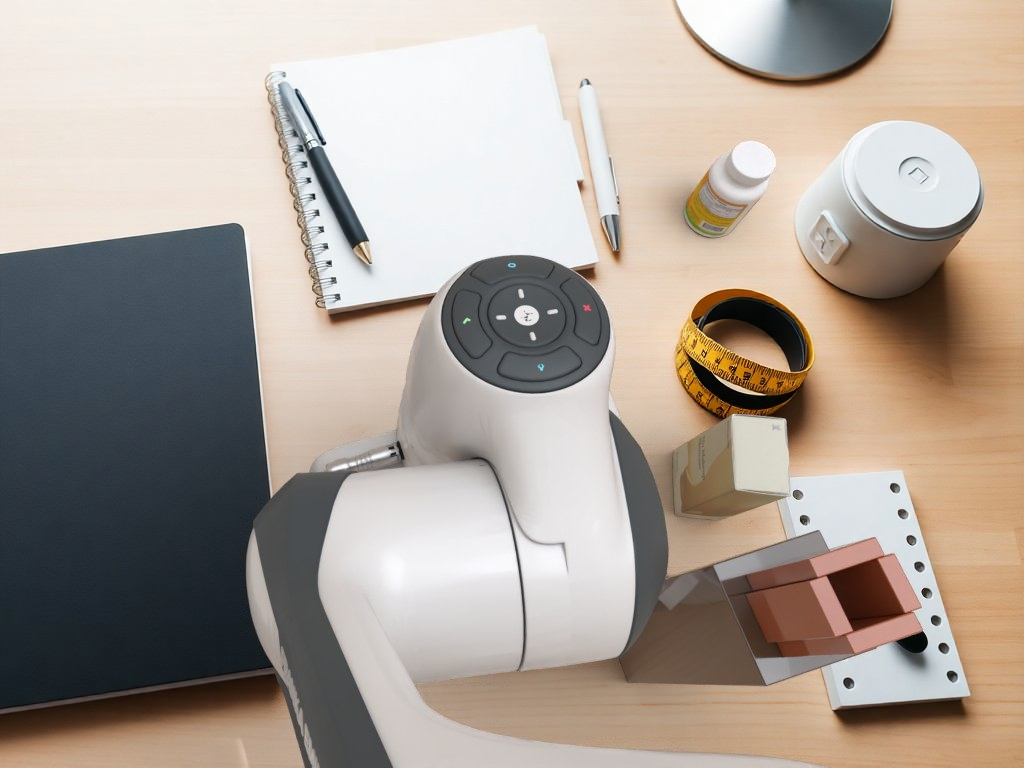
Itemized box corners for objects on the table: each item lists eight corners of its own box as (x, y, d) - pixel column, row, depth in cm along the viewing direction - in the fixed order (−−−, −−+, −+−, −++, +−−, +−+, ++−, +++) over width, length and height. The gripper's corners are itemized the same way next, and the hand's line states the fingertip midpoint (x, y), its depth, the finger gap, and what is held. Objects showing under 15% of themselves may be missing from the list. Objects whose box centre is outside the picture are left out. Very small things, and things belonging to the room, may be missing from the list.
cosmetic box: (671, 449, 75) (730, 408, 64) (719, 454, 75) (787, 413, 64) (673, 519, 73) (734, 490, 62) (723, 524, 73) (793, 496, 62)
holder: (705, 657, 69) (965, 643, 40) (628, 683, 69) (836, 688, 39) (670, 575, 72) (893, 506, 42) (595, 600, 71) (769, 546, 42)
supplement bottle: (718, 185, 85) (763, 125, 75) (746, 227, 83) (796, 172, 74) (672, 203, 84) (712, 145, 75) (700, 246, 82) (744, 192, 73)
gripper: (317, 530, 47) (324, 563, 60) (651, 428, 49) (587, 481, 62) (287, 427, 49) (300, 480, 62) (609, 333, 51) (556, 404, 64)
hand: (446, 480), depth 62 cm, fingers closed
